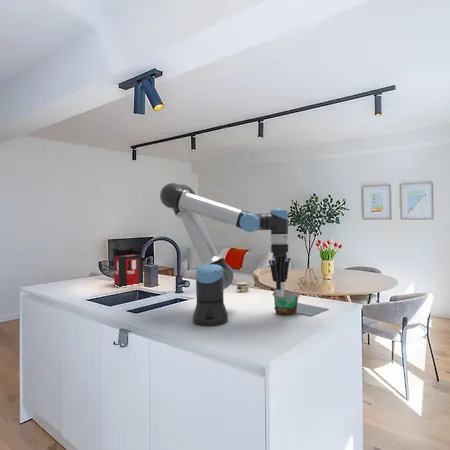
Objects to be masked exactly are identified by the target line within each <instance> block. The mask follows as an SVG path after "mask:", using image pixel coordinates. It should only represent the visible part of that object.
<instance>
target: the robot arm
mask: <svg viewBox="0 0 450 450" xmlns="http://www.w3.org/2000/svg"><path fill="white" fill-rule="evenodd" d="M159 199H160V201H161V202H160V203H162V205H163V206H165V207H166V208H168V209H172V210H173V212H174V214H175V216H176V217H177V218H178V219H179V218H180V220H181V222H182V224H183V226H184V227H185V231H186V232H187V234H188V236H189V238H190V240H191V243H192V245H193V247H194V249H195V251H196V253H197V254H198V257H199V259H200V262H201V266H198V267H197V268H196V270H195V271H196V272H195V285H196V286H195V287H196V289H195V290H196V291H195V292H196V293H195V294H196V304H195V307H194V312H193V314H192V322H193V323H194V324H196V325H197V326H198V325H200V326H205V327H206V326H207V327H210V326H219V325H223V324H225V323H227V322H228V321H229V315H228V312H227V309H226V305H225V302H224V290H225V289H227V288H228V287H230V285H231V284H232V283H233V281H234V275H235V274H234V270H233V268H232V267H231V266H230V265H229V264H228V263H227V262H226V261H225V258H224V257H223V256H221V255H220V254H219V252H218V251H217V249H216V247H215V244H214V243H213V241H212V239H211V237H210V235H209V232H208V230H207V227H206V226H205V225H204V223H203V220H202V218H201V216H203V217H206V218H209V219H212V220H215V221H217V222H221V223H224V224H227V225H230V226H232V227H236V228H239V229H241V230H243V231H244V232H248V233H253V232H255V231H270V243H271V244H270V252H271V253H272V258H271V260H270V259H269V260H268V264H269V266H270V272H271V278H272V281H273V282H275V285H276V286H275V287H276V292H277V296H278V297H284V292H285V283H286V282H287V280H288V276H289V275H288V274H289V268H290V267H289V266H290V262H291V258H289V257H288V254H287V253H288V252H289V244H288V243H289V218H288V215H289V214H288V210H287V209H286V208H271V209H270V212H269V213H267V212H266V213H253V212H250V211H246V210H244V209H243V210H242V209H240V208H236V207H233V206H230V205H227V204H224V203H222V202H219V201H217V200H216V201H215V200H213V199H209V198H206V197H203V196H200V195H197V194H196V192H195V191H194V189H192V188H191V187H190V186H188V185H186V184H179V183H175V182H171V183H167V184H166V185H164V186H163V187H162V188H161V190H160V192H159Z"/></svg>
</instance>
